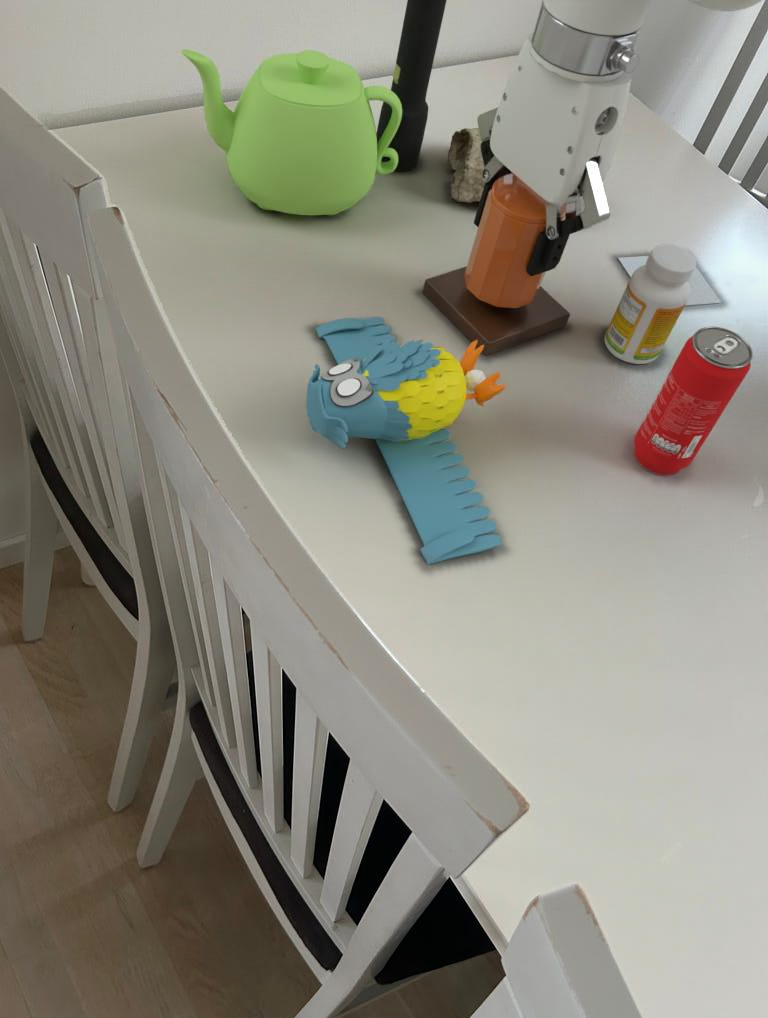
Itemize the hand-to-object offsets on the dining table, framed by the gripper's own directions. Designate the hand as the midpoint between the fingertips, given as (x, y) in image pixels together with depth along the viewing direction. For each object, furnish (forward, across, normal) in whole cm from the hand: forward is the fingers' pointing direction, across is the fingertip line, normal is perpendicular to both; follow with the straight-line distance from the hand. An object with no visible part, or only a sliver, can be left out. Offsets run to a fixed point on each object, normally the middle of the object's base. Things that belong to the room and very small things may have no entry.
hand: (514, 244), depth 89 cm
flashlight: (+7, +25, -6) cm, 27 cm away
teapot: (+7, +25, +8) cm, 27 cm away
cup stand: (+7, 0, 0) cm, 7 cm away
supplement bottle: (+7, -10, -9) cm, 15 cm away
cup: (+4, 0, 0) cm, 4 cm away
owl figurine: (+7, -9, +19) cm, 22 cm away
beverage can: (+7, -22, -1) cm, 23 cm away
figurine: (+7, -4, -20) cm, 22 cm away
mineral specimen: (+7, +15, -15) cm, 22 cm away
